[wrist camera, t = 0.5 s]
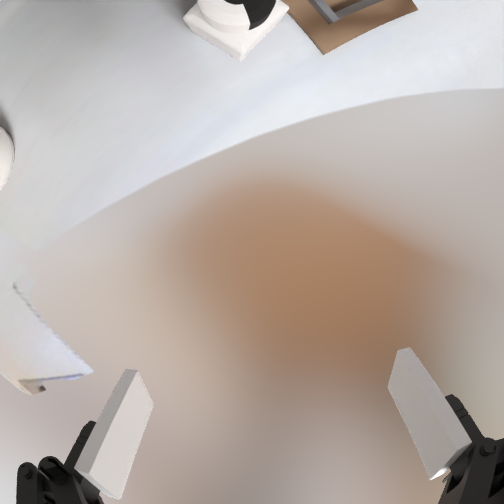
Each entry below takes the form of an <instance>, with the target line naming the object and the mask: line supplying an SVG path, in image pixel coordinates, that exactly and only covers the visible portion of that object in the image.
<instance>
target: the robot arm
mask: <svg viewBox="0 0 504 504" xmlns="http://www.w3.org/2000/svg"><path fill="white" fill-rule="evenodd" d="M388 390H389V392H390V394H391V396H392V398H393V400H394V402H395V404H396V406H397V408H398V410H399V412H400V414H401V416H402V418H403V420H404V422H405V425H406V427H407V429H408V431H409V433H410V435H411V437H412V440H413V442H414V444H415V446H416V449H417V451H418V453H419V455H420V458H421V460H422V463H423V465H424V467H425V470H426V472H427V474H428V477H429V479H430V480H431V479H434V478H436V477H438V476H440V475H442V474H444V473H445V472H446V471H447V470H448V468H450V470H451V472H450V473H449V474H448V475H447V476H446V477H445V478H444V480H443V481H442V482H443V483H444V482H445V481H446V480H447V479H448V480H447V483H446V485H445V488H444V491H443V493H442V496H441V498H440V500H439V503H438V504H504V438H503V439H500V440H494V439H491V438H485V437H484V436H483V435H482V434H481V432H480V430H479V429H478V427H477V426H476V424H475V422H474V421H473V419H472V418H471V416H470V415H468V412H467V410H466V409H465V408H464V406H463V404H462V403H461V401H460V400H459V399H458V398H457V397H455V396H454V395H452V394H451V395H448V396H446V397H444V396H443V394H442V393H441V391H440V390H439V388H438V387H437V385H436V384H435V382H434V381H433V379H432V378H431V376H430V375H429V373H428V372H427V370H426V369H425V368H424V366H423V365H422V363H421V362H420V360H419V359H418V358H417V356H416V355H415V354H414V352H413V351H412V349H411V348H410V347H409V348H405V349H401V350H398V351H397V355H396V359H395V363H394V367H393V370H392V373H391V377H390V380H389V383H388ZM153 405H154V404H153V402H152V400H151V398H150V396H149V394H148V391H147V389H146V387H145V385H144V383H143V381H142V378H141V376H140V374H139V371H138V370H130V369H125V371H124V372H123V374H122V376H121V378H120V380H119V382H118V383H117V385H116V387H115V389H114V391H113V393H112V394H111V396H110V398H109V400H108V402H107V404H106V406H105V407H104V409H103V411H102V413H101V415H100V417H99V419H98V421H97V422H94V421H89V422H88V423H87V424H86V425H85V426H84V427H83V429H82V430H81V432H80V434H79V436H78V438H77V440H76V443H75V444H74V446H73V448H72V450H71V452H70V453H69V456H68V457H67V460H66V462H65V463H64V465H63V464H62V463H61V462H60V461H59V460H58V459H57V458H56V457H53V456H47V457H45V458H43V459H42V460H41V461H40V463H39V465H38V468H37V467H36V466H34V465H33V464H32V463H29V462H25V463H23V464H21V465H20V467H19V468H18V473H17V495H16V500H17V502H16V504H104V503H103V501H102V498H101V497H100V496H99V492H100V491H101V492H102V493H104V494H105V495H107V496H110V497H112V498H115V499H119V500H121V497H122V494H123V491H124V488H125V485H126V481H127V478H128V475H129V473H130V470H131V467H132V463H133V460H134V458H135V455H136V452H137V449H138V447H139V444H140V441H141V438H142V435H143V432H144V430H145V427H146V424H147V421H148V419H149V416H150V413H151V411H152V408H153Z"/></svg>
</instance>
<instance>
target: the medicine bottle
mask: <svg viewBox="0 0 504 504" xmlns="http://www.w3.org/2000/svg"><path fill="white" fill-rule="evenodd" d="M288 10H289V6H288V5H287V4H285V3H284V2H282V1H281V0H198V2H197V3H196V4H195V5H194V6H193V7H192V8H191V9H190V10H189V11H188V12H187V13H186V14H185V15H184V17H183V19H184V21H185V22H186V23H187V25H188V26H189V28H190V29H191V30H192V32H193V33H194V34H196V35H198V36H200V37H201V38H203V39H205V40H206V41H208V42H210V43H211V44H213V45H215V46H216V47H218V48H219V49H221V50H223V51H224V52H226V53H227V54H229V55H230V56H232V57H233V58H235V59H236V60H238V61H242V60H243V59H244V58H245V57H246V56H247V55H248V54H249V52H250V51H251V50H252V49H253V48H254V47H255V46H256V45H257V44H258V43H259V42H260V41H261V40H262V39H263V38H264V37H265V36H266V35H267V34H268V33H269V32H270V31H271V30H272V29H273V28H274V27H275V26H276V25H277V24H278V23H279V22H280V20H281V19H282V18H283V16H284V15H285V14H286V12H287V11H288Z"/></svg>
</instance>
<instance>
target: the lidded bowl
mask: <svg viewBox="0 0 504 504" xmlns="http://www.w3.org/2000/svg"><path fill="white" fill-rule="evenodd" d="M13 161H14V144H13V141H12V139H11V137H10V135H9V134H8V133H7V132H6V131H5V130H4V129H3V128H1V127H0V190H1V189H2V188H3V187H4V185H5V183H6V182H7V180H8V178H9V175H10V172H11V169H12V164H13Z"/></svg>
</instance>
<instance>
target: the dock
mask: <svg viewBox="0 0 504 504" xmlns="http://www.w3.org/2000/svg"><path fill="white" fill-rule="evenodd" d="M281 1H282V2H284V3H285V4H287V5H288V6H289V10H288V11H287V13H288V14H289V15H290V16H291V17H292V18H293V19H294V20H295V22H296V23H297V24H298V25H299V26H300V27H301V28H302V29H303V31H304V32H305V33H306V34H307V35H308V37H309V38H310V39H311V40H312V41H313V43H314V44H315V45H316V46H317V48H318V49H319V50H320V51H321V53H322V54H323V55H324V54H326V53H328V52H330V51H332V50H333V49H335V48H337V47H339V46H340V45H342V44H344V43H346V42H348V41H350V40H352V39H354V38H356V37H358V36H360V35H362V34H364V33H366V32H368V31H370V30H372V29H374V28H376V27H378V26H380V25H383V24H385V23H387V22H389V21H392V20H394V19H396V18H399V17H401V16H404V15H406V14H409V13H411V12H414V11H417V10H418V9H417V7H416V6H415V4H414V3H413V1H412V0H281Z"/></svg>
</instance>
